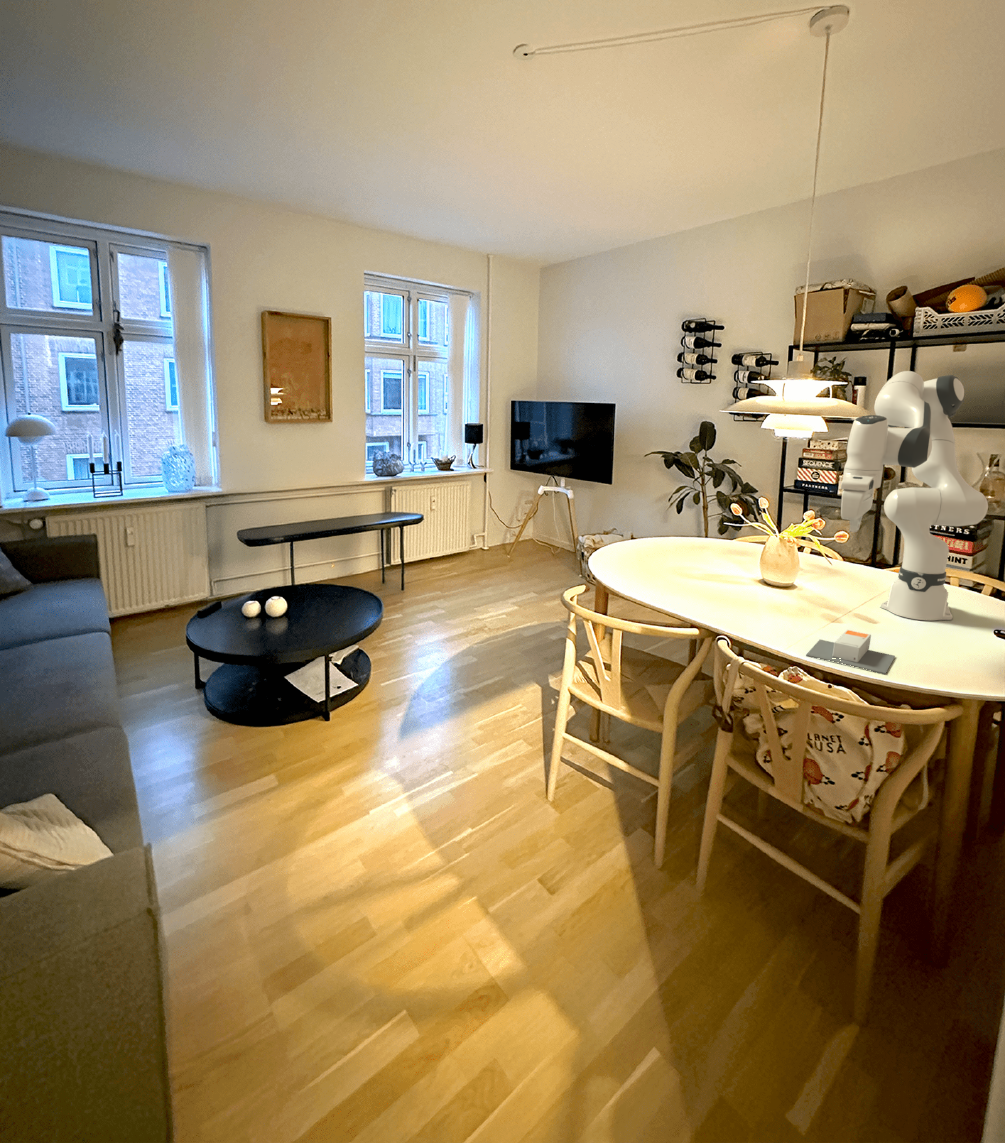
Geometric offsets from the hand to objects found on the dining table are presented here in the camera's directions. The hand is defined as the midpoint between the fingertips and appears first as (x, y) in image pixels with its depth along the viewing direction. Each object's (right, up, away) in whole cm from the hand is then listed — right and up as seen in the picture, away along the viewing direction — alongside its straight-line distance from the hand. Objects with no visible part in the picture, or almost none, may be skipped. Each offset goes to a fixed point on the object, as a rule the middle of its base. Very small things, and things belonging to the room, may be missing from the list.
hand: (854, 531), depth 166 cm
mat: (-4, -33, -5) cm, 34 cm away
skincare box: (+1, -29, 0) cm, 29 cm away
